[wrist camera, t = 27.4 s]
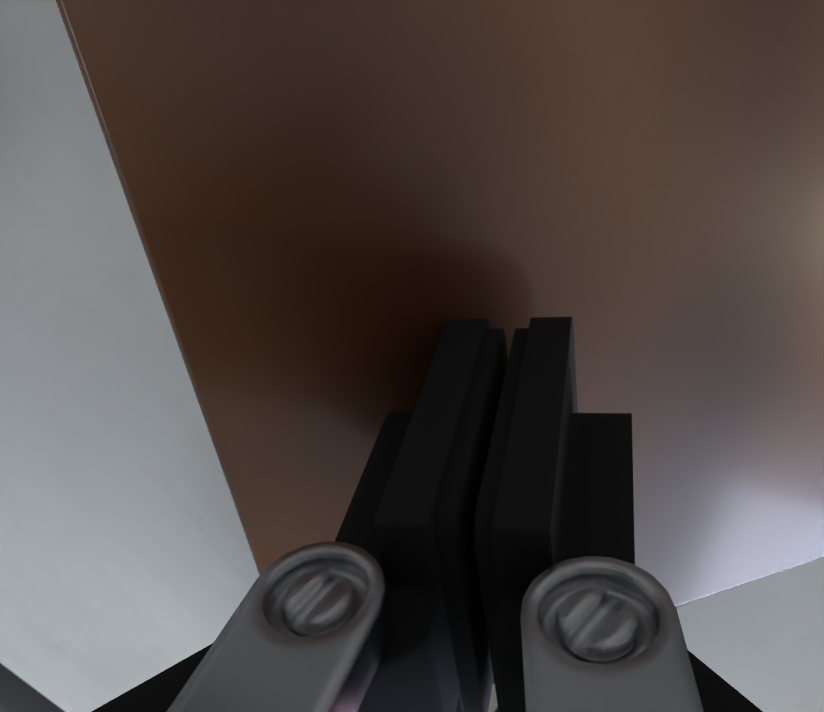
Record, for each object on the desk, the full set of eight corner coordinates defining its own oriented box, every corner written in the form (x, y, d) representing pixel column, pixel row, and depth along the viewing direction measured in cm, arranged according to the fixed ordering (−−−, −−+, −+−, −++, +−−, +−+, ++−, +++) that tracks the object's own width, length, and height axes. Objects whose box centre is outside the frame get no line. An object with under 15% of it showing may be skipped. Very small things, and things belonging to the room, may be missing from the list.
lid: (306, 691, 14) (313, 729, 14) (61, -16, 8) (51, -9, 8) (989, 468, 16) (1024, 491, 16) (1197, -225, 10) (1269, -234, 10)
